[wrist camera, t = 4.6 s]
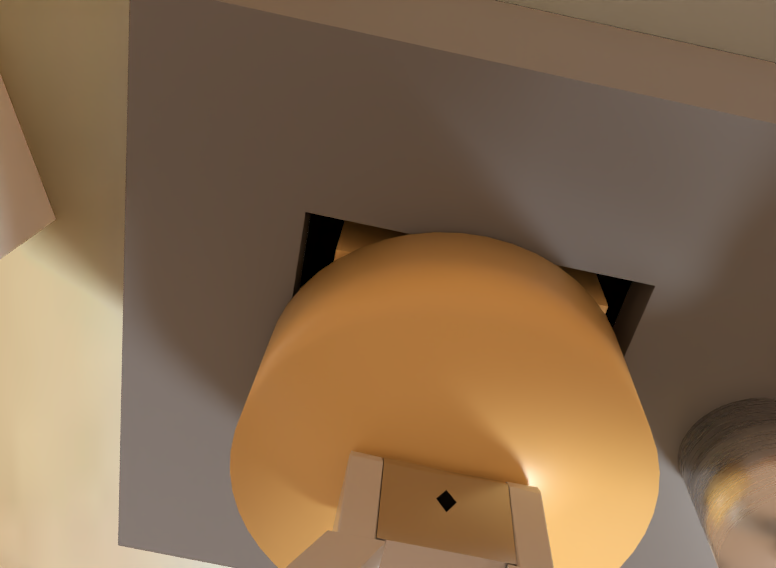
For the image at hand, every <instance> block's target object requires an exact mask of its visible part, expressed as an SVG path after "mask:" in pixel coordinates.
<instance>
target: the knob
mask: <svg viewBox="0 0 776 568" xmlns="http://www.w3.org/2000/svg"><path fill="white" fill-rule="evenodd" d="M607 309H608V304H607V302H606V299H605V296H604V294H603V291H602V289H601V286H600V283H599V281H598V278H597V275H596V273H592V272H587V271H583V270H578V269H573V268H568V267H564V266H559V265H555V264H553V263H552V262H550V261H548V260H546V259H545V258H543V257H541V256H539V255H538V254H536V253H533V252H531V251H529V250H526V249H524V248H521V247H519V246H516V245H514V244H511V243H508V242H504V241H500V240H497V239H493V238H490V237H485V236H478V235H471V234H465V233H445V232H431V233H420V234H407V233H403V232H398V231H393V230H389V229H384V228H379V227H374V226H370V225H365V224H360V223H355V222H351V221H346V220H345V221H344V225H343V228H342V231H341V235H340V238H339V241H338V245H337V248H336V252H335V258H334V262H332V263H331V264H329V265H328V266H327V267H325V268H324V269H322V270H321V271H319V272H318V273H317V274H316V275H314V276H313V277H312V278H311V279H310V280H309V281H308V282H307V283H306V284H304V285H303V286H302V287H301V288H300V290H299V291H298V292H297V293H296V294H295V296H294V297H293V298H292V299H291V300H290V302H289V303H288V304H287V306H286V308H285V309H284V311H283V313H282V314H281V316H280V318H279V319H278V321H277V323H276V326H275V328H274V331H273V333H272V336H271V338H270V341H269V343H268V346H267V349H266V351H265V354H264V356H263V359H262V361H261V364H260V367H259V369H258V372H257V374H256V377H255V380H254V382H253V385H252V387H251V390H250V393H249V395H248V398H247V400H246V403H245V406H244V408H243V411H242V413H241V416H240V419H239V421H238V424H237V426H236V429H235V432H234V437H233V442H232V447H231V451H230V477H231V484H232V491H233V495H234V498H235V501H236V505H237V508H238V511H239V513H240V515H241V517H242V519H243V521H244V524H245V526H246V528H247V530H248V531H249V533H250V534H251V536H252V537H253V539H254V540H255V542H256V543H257V545H258V546H259V547H260V549H261V550H262V551H263V552H264V553H265V554H266V555H267V557H268V558H269V559H270V560H271V561H272V562H273V563H274V564H275V565H276V566H277V567H278V568H285V567H287V566H288V565H289V564H290V563H291V562H292V561H293V560H295V559H296V558H297V557H298V556H299V555H300V554H301V553H302V552H304V551H305V550H306V549H307V548H308V547H309V546H310V545H312V544H313V543H314V542H315V541H316V540H317V539H318V538H319V537H321V536H322V535H323V534H324V533H325V532H326V531H327V530H329V531H332V530H333V525H334V521H335V516H336V511H337V507H338V502H339V498H340V493H341V489H342V485H343V480H344V476H345V472H346V467H347V463H348V459H349V455H350V453H351V451H355V452H360V453H364V454H369V455H373V456H377V457H382V459H383V457H385V458H390V459H394V460H399V461H403V462H408V463H413V464H417V465H422V466H426V467H431V468H435V469H440V470H445V471H450V472H456V473H461V474H466V475H472V476H477V477H482V478H488V479H493V480H498V481H503V482H512V483H517V484H523V485H528V486H534V487H538V489H539V490H540V491H541V494H542V500H543V506H544V512H545V518H546V524H547V530H548V536H549V542H550V547H551V553H552V559H553V565H554V568H620V567H621V566H622V564H623V563H624V562H625V561H626V560H627V559H628V558H629V556H630V555H631V554H632V553H633V552H634V550H635V549H636V547H637V546H638V544H639V542H640V541H641V539H642V538H643V536H644V535H645V533H646V530H647V528H648V526H649V523H650V521H651V519H652V517H653V514H654V510H655V506H656V502H657V498H658V493H659V477H660V470H659V462H658V453H657V448H656V445H655V442H654V439H653V436H652V432H651V429H650V426H649V424H648V421H647V418H646V416H645V413H644V410H643V408H642V405H641V402H640V399H639V397H638V394H637V391H636V389H635V386H634V383H633V381H632V378H631V375H630V373H629V370H628V367H627V365H626V362H625V359H624V357H623V354H622V351H621V348H620V346H619V343H618V340H617V338H616V335H615V333H614V331H613V329H612V327H611V325H610V323H609V321H608V319H607V317H606V315H605V314H606V311H607Z"/></svg>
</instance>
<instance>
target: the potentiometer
mask: <svg viewBox="0 0 776 568" xmlns="http://www.w3.org/2000/svg"><path fill="white" fill-rule="evenodd" d="M678 466H679V469H680V472H681V475H682V477H683V480H684V483H685V485H686V488H687V490H688V493H689V495H690V498H691V500H692V503H693V505H694V508H695V510H696V513H697V515H698V518H699V520H700V523H701V525H702V528H703V531H704V533H705V536H706V538H707V541H708V543H709V546H710V548H711V551H712V553H713V556H714V558H715V561H716V563H717V566H718V568H776V399H774V398H750V399H743V400H739V401H735V402H731V403H728V404H726V405H723V406H721V407H719V408H716V409H714V410H713V411H711V412H709V413H708V414H706V415H705V416H703V417H702V418H701V419H699V420H698V421H697V422H696V423H695V424H694V425H693V426H692V427H691V428H690V429H689V431H688V432H687V433H686V435H685V437H684V438H683V440H682V442H681V445H680V448H679V452H678Z"/></svg>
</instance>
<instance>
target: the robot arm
mask: <svg viewBox="0 0 776 568" xmlns="http://www.w3.org/2000/svg"><path fill="white" fill-rule="evenodd" d="M285 568H554V565H553V559H552V553H551V547H550V542H549V536H548V530H547V524H546V518H545V512H544V506H543V500H542V494H541V491H540V490H539V489H538V487H534V486H528V485H523V484H517V483H512V482H503V481H498V480H493V479H488V478H482V477H477V476H472V475H466V474H461V473H456V472H450V471H445V470H440V469H435V468H431V467H426V466H422V465H417V464H413V463H408V462H403V461H399V460H394V459H390V458H385V457H383V459H382V457H377V456H373V455H369V454H364V453H360V452H355V451H351V453H350V455H349V459H348V463H347V467H346V472H345V476H344V480H343V485H342V489H341V493H340V498H339V502H338V507H337V511H336V516H335V521H334V525H333V530H332V531H329V530H327V531H326V532H325V533H324V534H323V535H322V536H321V537H319V538H318V539H317V540H316V541H315V542H314V543H313V544H312V545H310V546H309V547H308V548H307V549H306V550H305V551H304V552H302V553H301V554H300V555H299V556H298V557H297V558H296V559H295V560H293V561H292V562H291V563H290V564H289V565H288V566H287V567H285Z"/></svg>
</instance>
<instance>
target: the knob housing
mask: <svg viewBox="0 0 776 568" xmlns="http://www.w3.org/2000/svg"><path fill="white" fill-rule="evenodd" d="M311 213H313V214H317V215H322V216H327V217H332V218H336V219H341V220H346V221H351V222H355V223H360V224H365V225H370V226H374V227H379V228H384V229H389V230H393V231H398V232H403V233H407V234H420V233H431V232H445V233H465V234H471V235H478V236H485V237H490V238H493V239H497V240H500V241H504V242H508V243H511V244H514V245H516V246H519V247H521V248H524V249H526V250H529V251H531V252H533V253H536V254H538V255H539V256H541V257H543V258H545V259H546V260H548V261H550V262H552V263H553V264H555V265H559V266H564V267H568V268H573V269H578V270H583V271H587V272H592V273H597V274H602V275H606V276H611V277H616V278H621V279H625V280H630V281H632V283H631V285H630V288H629V290H628V292H627V295H626V297H625V300H624V302H623V304H622V307H621V309H620V312H619V314H618V316H617V319H616V321H615V323H614V326H613V328H612V329H613V331H614V333H615V335H616V338H617V340H618V343H619V346H620V348H621V351H622V354H623V357H624V359H625V362H626V365H627V367H628V370H629V373H630V375H631V378H632V381H633V383H634V386H635V389H636V391H637V394H638V397H639V399H640V402H641V405H642V408H643V410H644V413H645V416H646V418H647V421H648V424H649V426H650V429H651V432H652V436H653V439H654V442H655V445H656V448H657V453H658V462H659V470H660V477H659V493H658V498H657V502H656V506H655V510H654V514H653V517H652V519H651V521H650V523H649V526H648V528H647V530H646V533H645V535H644V536H643V538H642V539H641V541H640V542H639V544H638V546H637V547H636V549H635V550H634V552H633V553H632V554H631V555H630V556H629V558H628V559H627V560H626V561H625V562H624V563H623V564H622V566H621V567H620V568H718V566H717V563H716V561H715V558H714V556H713V553H712V551H711V548H710V546H709V543H708V541H707V538H706V536H705V533H704V531H703V528H702V525H701V523H700V520H699V518H698V515H697V513H696V510H695V508H694V505H693V503H692V500H691V498H690V495H689V493H688V490H687V488H686V485H685V483H684V480H683V477H682V475H681V472H680V469H679V466H678V452H679V448H680V445H681V442H682V440H683V438H684V437H685V435H686V433H687V432H688V431H689V429H690V428H691V427H692V426H693V425H694V424H695V423H696V422H697V421H698V420H699V419H701V418H702V417H703V416H705V415H706V414H708V413H709V412H711V411H713V410H714V409H716V408H719V407H721V406H723V405H726V404H728V403H731V402H735V401H739V400H743V399H750V398H774V399H776V63H774V62H770V61H765V60H761V59H756V58H752V57H747V56H743V55H738V54H734V53H729V52H725V51H720V50H716V49H711V48H707V47H702V46H698V45H693V44H689V43H685V42H680V41H676V40H671V39H667V38H662V37H658V36H653V35H649V34H644V33H640V32H635V31H631V30H626V29H622V28H617V27H613V26H608V25H604V24H599V23H595V22H590V21H586V20H582V19H577V18H573V17H568V16H564V15H559V14H555V13H550V12H546V11H541V10H537V9H532V8H528V7H523V6H519V5H514V4H510V3H505V2H501V1H496V0H130V11H129V58H128V106H127V153H126V200H125V247H124V294H123V341H122V388H121V436H120V483H119V530H118V545H120V546H125V547H130V548H135V549H140V550H145V551H151V552H156V553H161V554H166V555H171V556H176V557H182V558H187V559H192V560H197V561H202V562H207V563H213V564H218V565H223V566H228V567H233V568H278V567H277V566H276V565H275V564H274V563H273V562H272V561H271V560H270V559H269V558H268V557H267V555H266V554H265V553H264V552H263V551H262V550H261V549H260V547H259V546H258V545H257V543H256V542H255V540H254V539H253V537H252V536H251V534H250V533H249V531H248V530H247V528H246V526H245V524H244V521H243V519H242V517H241V515H240V513H239V511H238V508H237V505H236V501H235V498H234V495H233V491H232V484H231V477H230V451H231V447H232V442H233V437H234V432H235V429H236V426H237V424H238V421H239V419H240V416H241V413H242V411H243V408H244V406H245V403H246V400H247V398H248V395H249V393H250V390H251V387H252V385H253V382H254V380H255V377H256V374H257V372H258V369H259V367H260V364H261V361H262V359H263V356H264V354H265V351H266V349H267V346H268V343H269V341H270V338H271V336H272V333H273V331H274V328H275V326H276V323H277V321H278V319H279V318H280V316H281V314H282V313H283V311H284V309H285V308H286V306H287V304H288V303H289V302H290V300H291V299H292V298H293V297H294V296H295V294H296V293H297V292H298V291H299V287H300V281H301V274H302V268H303V262H304V256H305V249H306V243H307V237H308V231H309V224H310V218H311Z"/></svg>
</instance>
